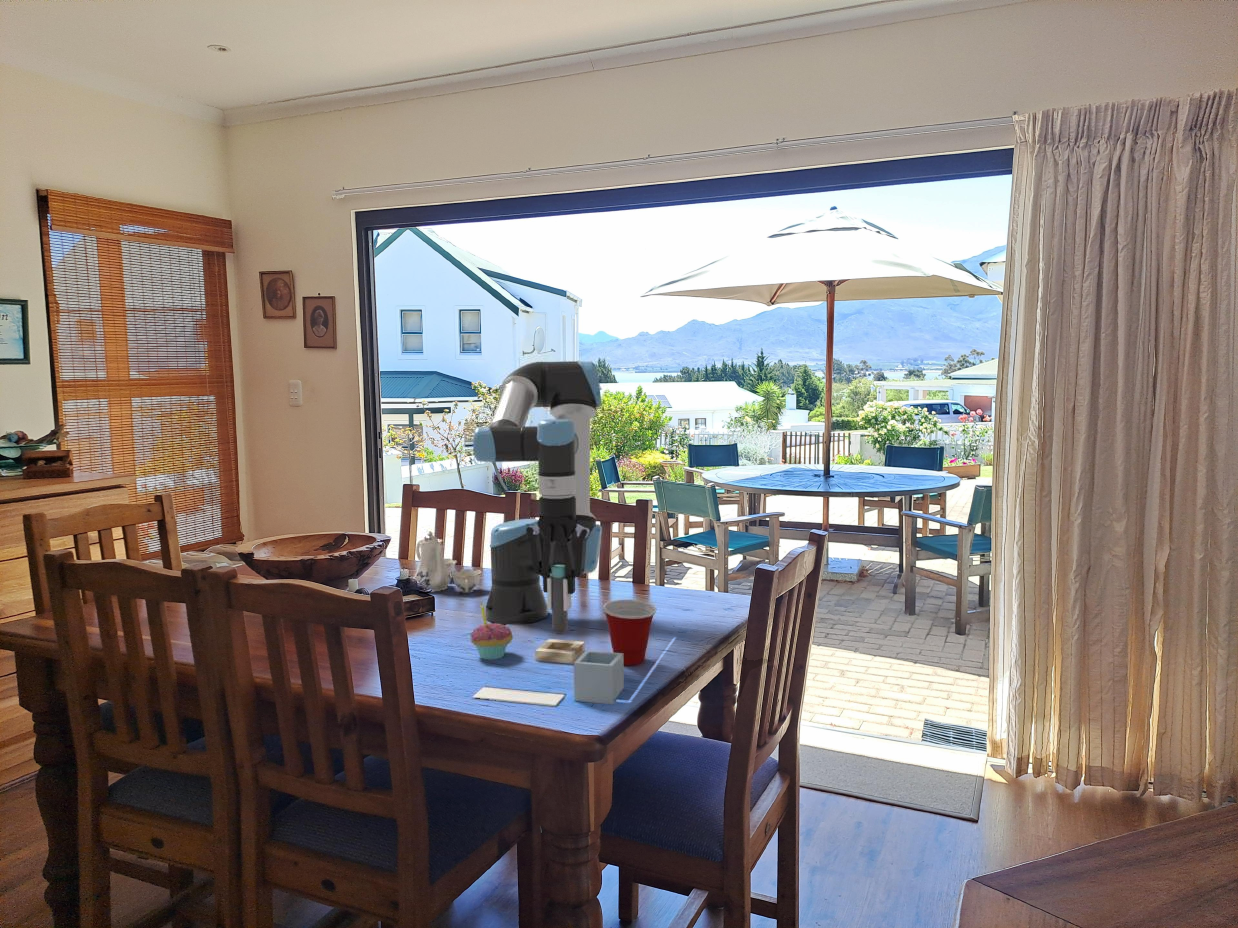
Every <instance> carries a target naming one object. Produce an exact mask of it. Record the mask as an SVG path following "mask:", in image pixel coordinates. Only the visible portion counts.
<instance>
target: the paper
mask: <svg viewBox="0 0 1238 928" xmlns="http://www.w3.org/2000/svg"><path fill="white" fill-rule="evenodd" d="M566 696H567V693H560V692H559V693H558V692H549V691H548V692H547V691H537V690H536V691H535V690H528V689H517V688H516V689H515V688H506V687H495V686H486V685H485V686H483V687H482V688H480V690H478V691H477V693H475V694H474V695H472V699H475V698H480V699H479V700H485V699H489V700H488V701H495V700H496V701H498V702H506V703H507V702H508V703H517V704H525V705H526V704H527V705H538V706H545V707H546V706H547V707H556V706H557V705H558V704H560V702H561V701H562V700H563V699H564V698H565V697H566Z"/></svg>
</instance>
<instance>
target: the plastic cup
mask: <svg viewBox="0 0 1238 928" xmlns="http://www.w3.org/2000/svg"><path fill="white" fill-rule="evenodd" d="M602 609H603V611H604V613H605V617H606V621H607V625H608V633H609V638H610V639H609V640H610V643H611V645H610V646H611V648H612V652H613V653H623V664H624V667H636V666H640V665H642V664H643V663H644V662H645V659H646V654H647V649H648V643H649V637H650V631H651V624H652V621H653V619H654V616H655V614H656V611H657V610H658V609H657V607H656V605H653V604H652V603H650V602H647V601H643V600H637V599H615V600H611V601H608V602H606V603H604V605H603V606H602Z"/></svg>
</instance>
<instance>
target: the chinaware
mask: <svg viewBox="0 0 1238 928" xmlns="http://www.w3.org/2000/svg"><path fill="white" fill-rule="evenodd" d="M433 534H434V533H433V532H432V530H429V531H428V533H427V535H425V536H424V537H423V539H421V540H418V542H417V544H416V547H415V548H416V549H415V551H416V557H417V559H418V561H419V562H418V563H419V564H418V566H417V568H416V570H415V571H414V573H413V575H412V578H413V579H415V580H417V581H418V582H419V583H420V584H422V585H425V586H428V587H429V588H430V589H431V590H433V591H438V592H442V591H441V590H443V591H445V589H446V590H447V589H448V588H449V587H448V585H449V584H450V582H451V581H452V579H453V583H454V585H455V586H456V588H457V589H460V592H461V593H463V594H465V593H472V592H474V590H473V589H475V588H476V587H477V586H478V584H479V582H480V579H481V578H480V577H481V576H482V573H483V571H482V570H481V569H476V570H472V569H471V568H470V569H469V568H464V569H461V570H460V571H457V570H454V568H455V565H456V564H457V562H458V560H453V558H449V557H448V558H445V557H444V551H443V548H444V544H443V543H442V542H443V539H440V538H438V537H437V536H436V535H435V534H434V535H433ZM412 578H411V579H412Z"/></svg>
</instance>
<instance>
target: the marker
mask: <svg viewBox="0 0 1238 928" xmlns="http://www.w3.org/2000/svg"><path fill="white" fill-rule="evenodd" d="M551 577H552V610H551V629H552V630H553V631H554V635H560V636H562V635H565V633H566V630H569V628H568V627H569V626H568V624H569V623H568V622H569V621H568V620H569V619H568V611H564V600H563V579H565V577H567V576H566V570H565V565H553V566H551Z"/></svg>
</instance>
